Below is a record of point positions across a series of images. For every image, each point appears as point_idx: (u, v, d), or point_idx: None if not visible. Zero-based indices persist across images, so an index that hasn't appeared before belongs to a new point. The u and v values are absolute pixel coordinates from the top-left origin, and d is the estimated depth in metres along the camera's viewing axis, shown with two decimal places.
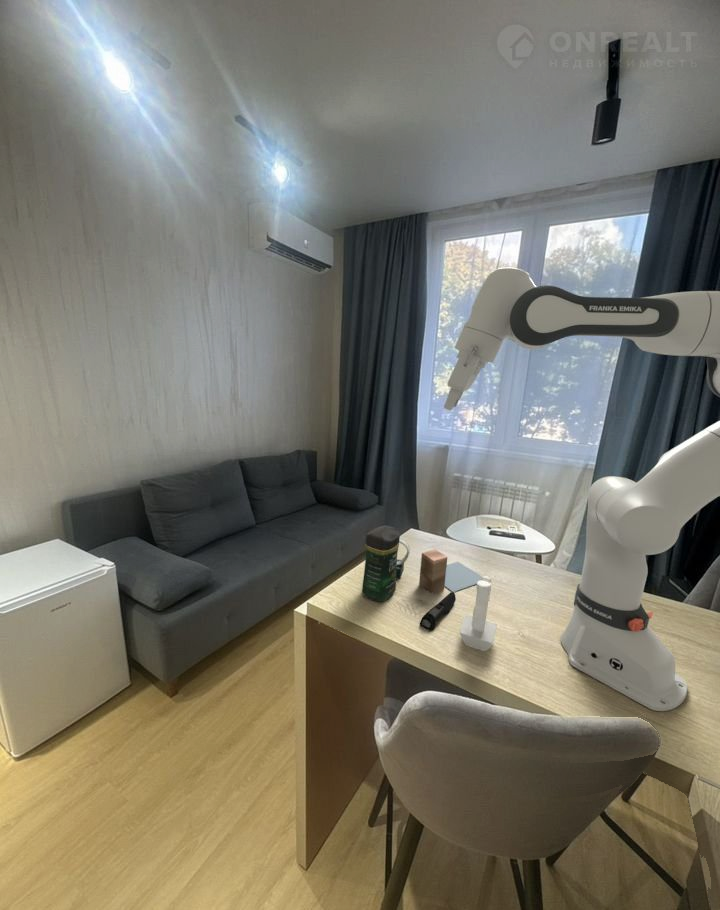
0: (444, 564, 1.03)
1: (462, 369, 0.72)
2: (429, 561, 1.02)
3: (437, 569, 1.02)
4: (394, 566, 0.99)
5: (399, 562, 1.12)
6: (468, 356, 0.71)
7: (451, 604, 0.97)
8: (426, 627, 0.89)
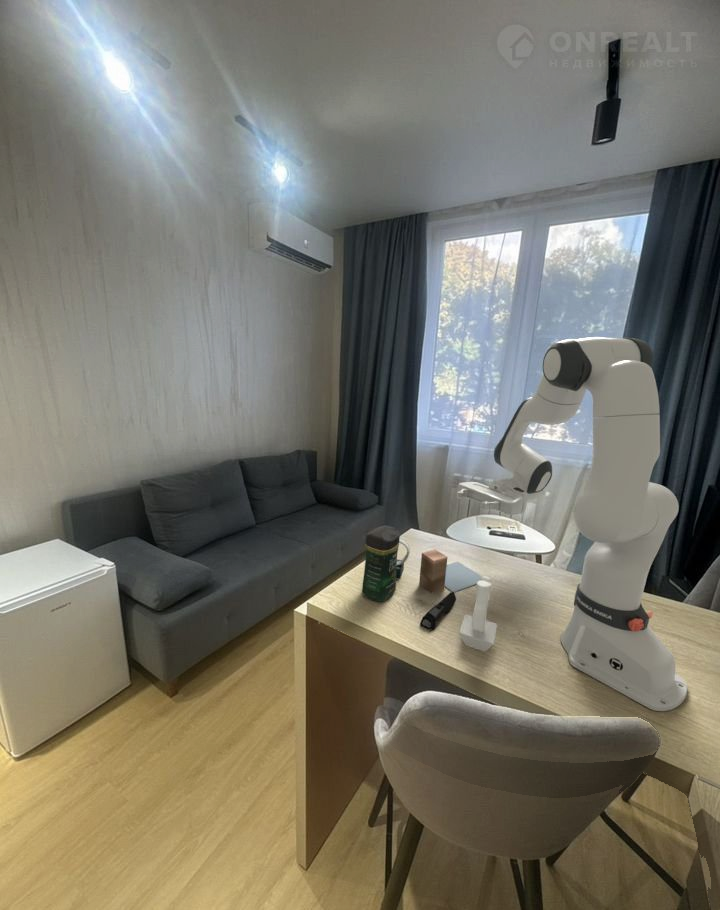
0: (444, 564, 1.03)
1: None
2: (429, 561, 1.02)
3: (437, 569, 1.02)
4: (394, 566, 0.99)
5: (399, 562, 1.12)
6: None
7: (451, 604, 0.97)
8: (426, 627, 0.89)
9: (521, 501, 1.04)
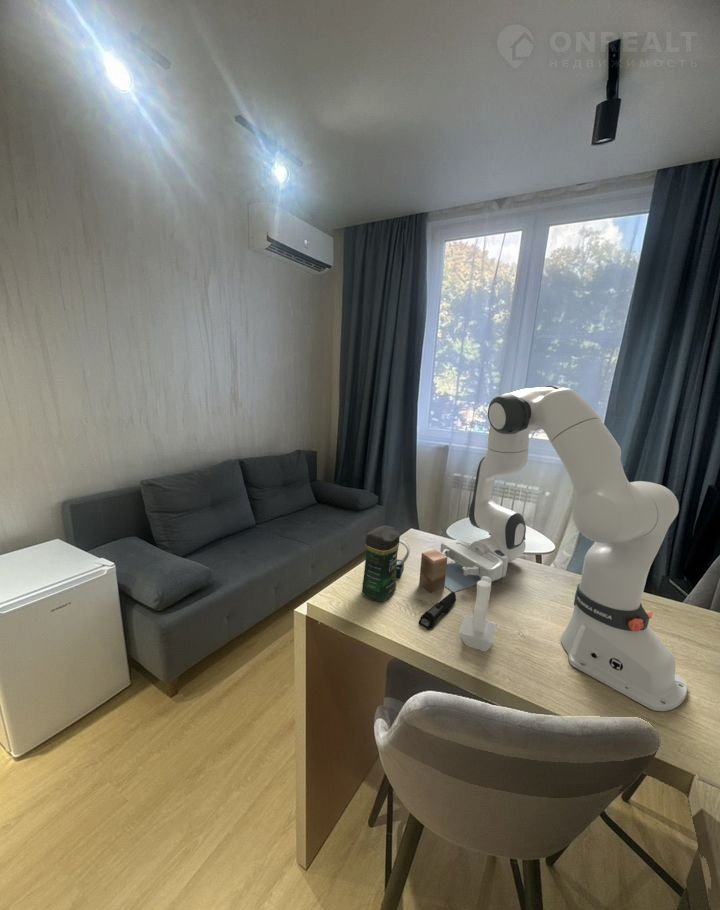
0: (444, 564, 1.03)
1: None
2: (429, 561, 1.02)
3: (437, 569, 1.02)
4: (394, 566, 0.99)
5: (399, 562, 1.12)
6: None
7: (451, 604, 0.97)
8: (425, 626, 0.89)
9: (501, 567, 1.05)
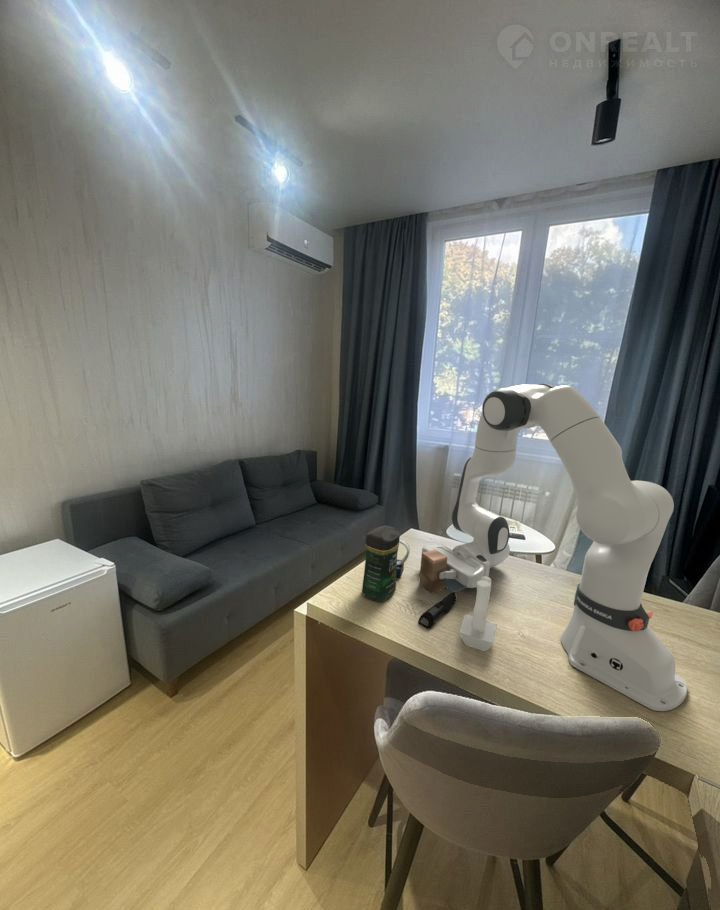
0: (444, 564, 1.03)
1: None
2: (429, 561, 1.02)
3: (437, 569, 1.02)
4: (394, 566, 0.99)
5: (399, 562, 1.12)
6: None
7: (451, 604, 0.97)
8: (424, 625, 0.89)
9: (482, 573, 1.01)
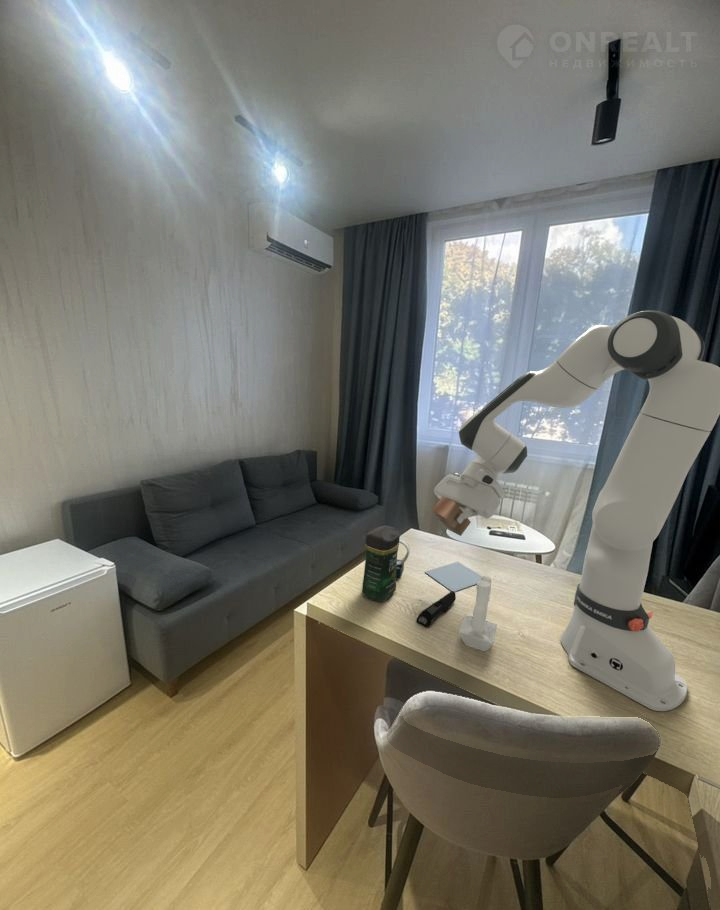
0: (456, 509, 1.02)
1: None
2: (441, 516, 1.02)
3: (452, 517, 1.02)
4: (394, 566, 0.99)
5: (399, 562, 1.12)
6: None
7: (450, 603, 0.97)
8: (422, 624, 0.90)
9: (493, 497, 0.98)
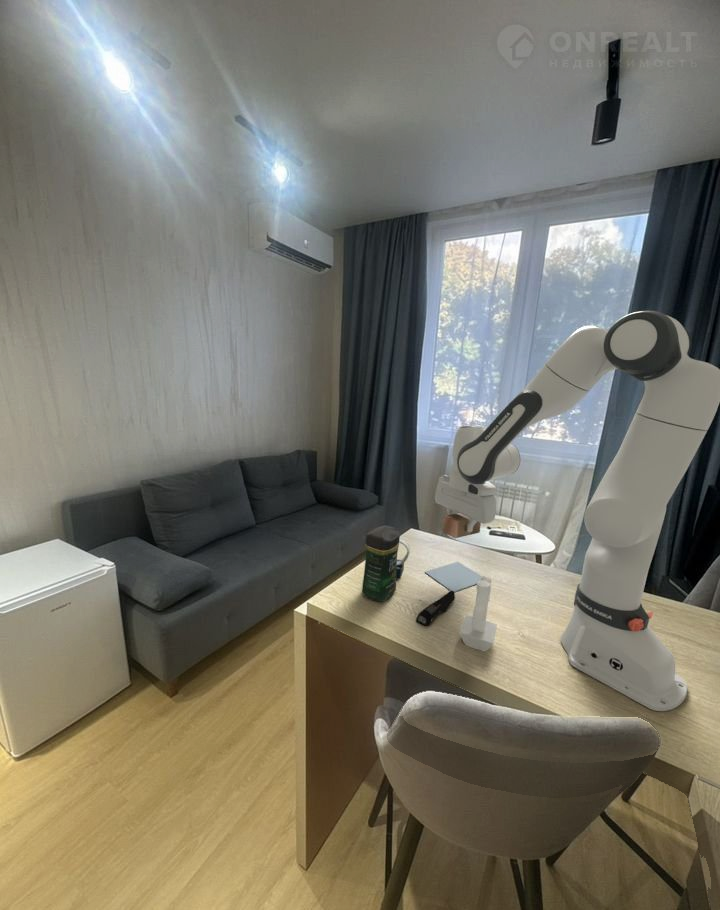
0: (461, 523, 1.05)
1: None
2: None
3: (463, 531, 1.06)
4: (394, 566, 0.99)
5: (399, 562, 1.12)
6: None
7: (449, 602, 0.97)
8: (422, 623, 0.90)
9: (487, 505, 0.98)
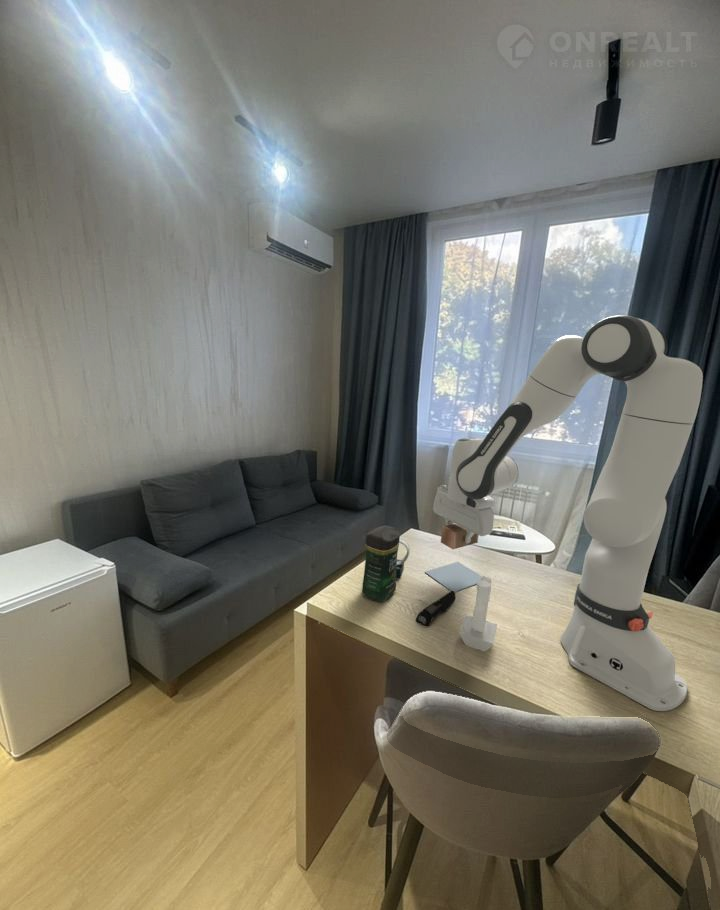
0: (459, 535, 1.06)
1: None
2: None
3: (461, 542, 1.07)
4: (394, 566, 0.99)
5: (399, 562, 1.12)
6: None
7: (450, 602, 0.97)
8: (422, 623, 0.90)
9: (484, 519, 0.99)
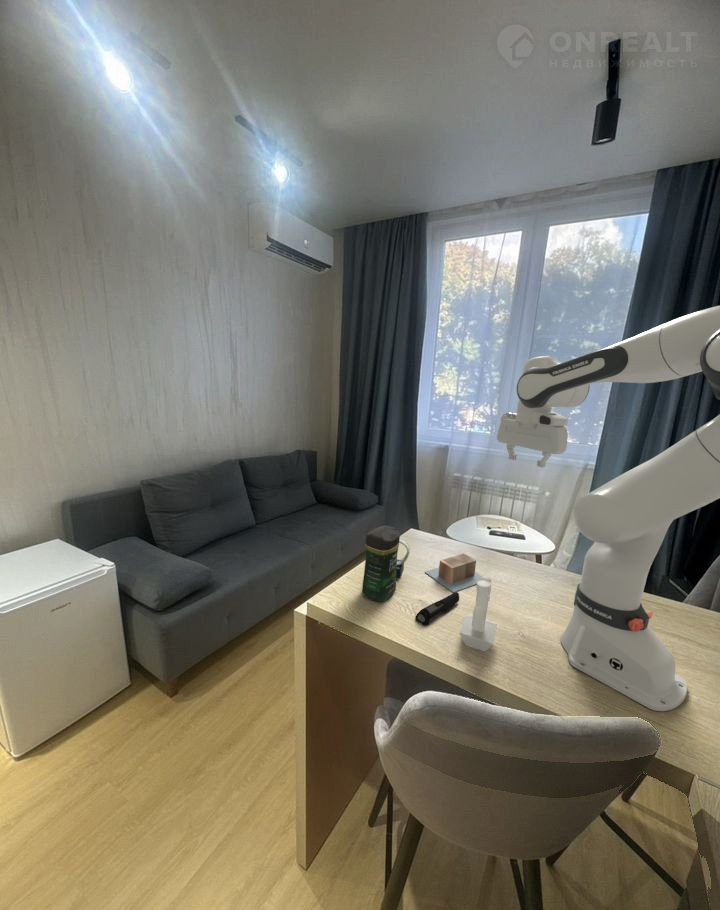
0: (456, 569, 1.08)
1: None
2: None
3: (458, 576, 1.09)
4: (394, 566, 0.99)
5: (399, 562, 1.12)
6: None
7: (452, 603, 0.97)
8: (421, 621, 0.91)
9: (560, 435, 0.98)
